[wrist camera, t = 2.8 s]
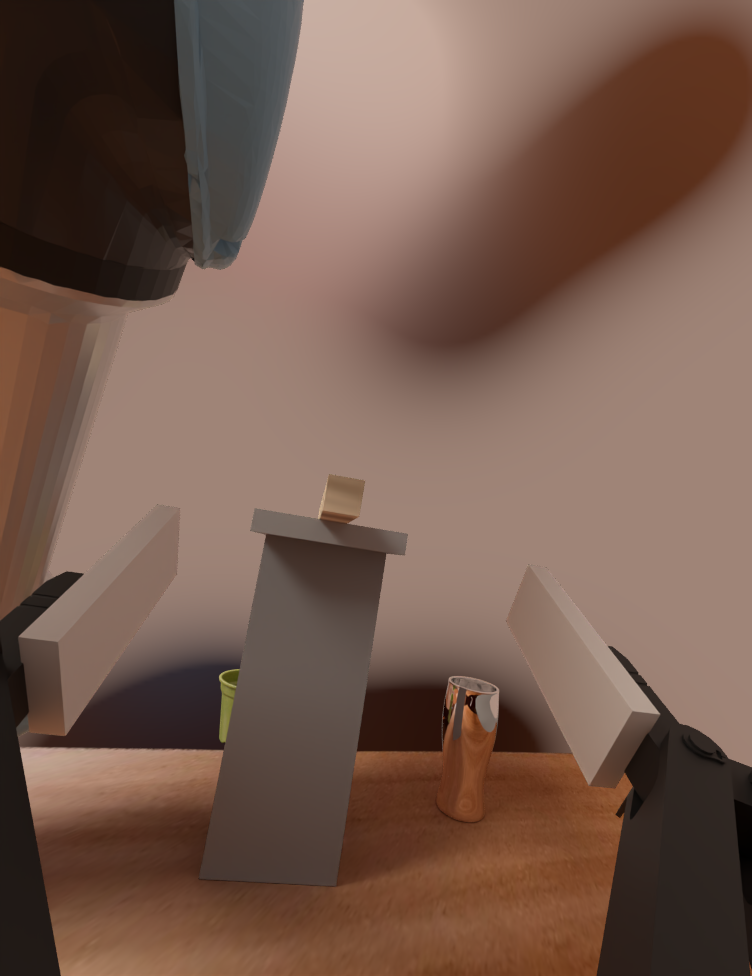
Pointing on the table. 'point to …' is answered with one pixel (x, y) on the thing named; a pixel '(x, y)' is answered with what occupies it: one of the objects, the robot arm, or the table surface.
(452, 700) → the beer glass
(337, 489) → the wooden bar
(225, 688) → the plant pot
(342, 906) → the table surface
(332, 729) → the grey stand
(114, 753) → the table surface
